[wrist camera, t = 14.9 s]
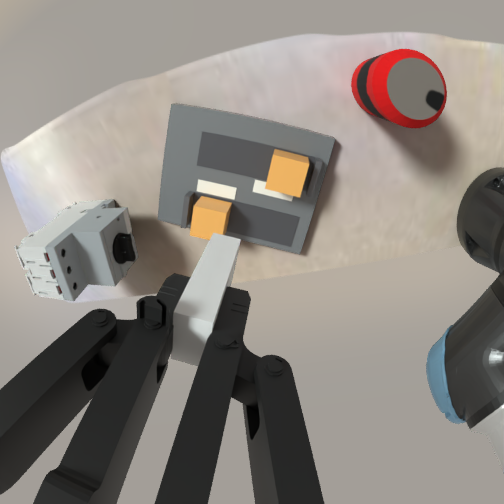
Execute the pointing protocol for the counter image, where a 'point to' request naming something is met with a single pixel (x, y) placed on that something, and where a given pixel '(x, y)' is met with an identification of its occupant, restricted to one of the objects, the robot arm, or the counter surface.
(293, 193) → the tab
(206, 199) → the tab
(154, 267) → the counter surface
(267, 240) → the switch board
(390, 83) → the soda can
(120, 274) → the circuit breaker
